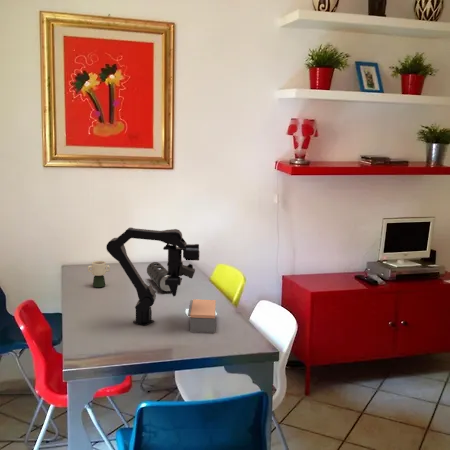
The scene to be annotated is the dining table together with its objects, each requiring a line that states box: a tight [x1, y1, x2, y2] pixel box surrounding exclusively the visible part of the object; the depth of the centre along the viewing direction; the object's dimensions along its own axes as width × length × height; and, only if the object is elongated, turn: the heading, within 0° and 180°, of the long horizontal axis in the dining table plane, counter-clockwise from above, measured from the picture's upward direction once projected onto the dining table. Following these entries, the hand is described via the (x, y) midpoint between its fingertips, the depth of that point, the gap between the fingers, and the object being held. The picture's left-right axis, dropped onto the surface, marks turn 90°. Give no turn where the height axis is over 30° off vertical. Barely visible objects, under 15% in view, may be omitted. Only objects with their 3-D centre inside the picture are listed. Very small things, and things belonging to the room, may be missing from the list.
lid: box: [187, 298, 217, 319], centre depth 223 cm, size 11×20×1 cm, turn 0°
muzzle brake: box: [146, 261, 171, 292], centre depth 276 cm, size 10×28×10 cm, turn 21°
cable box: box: [189, 304, 217, 334], centre depth 228 cm, size 10×29×6 cm, turn 0°
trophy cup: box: [87, 260, 110, 288], centre depth 272 cm, size 11×7×13 cm, turn 102°
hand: (174, 295), depth 222 cm, fingers closed
